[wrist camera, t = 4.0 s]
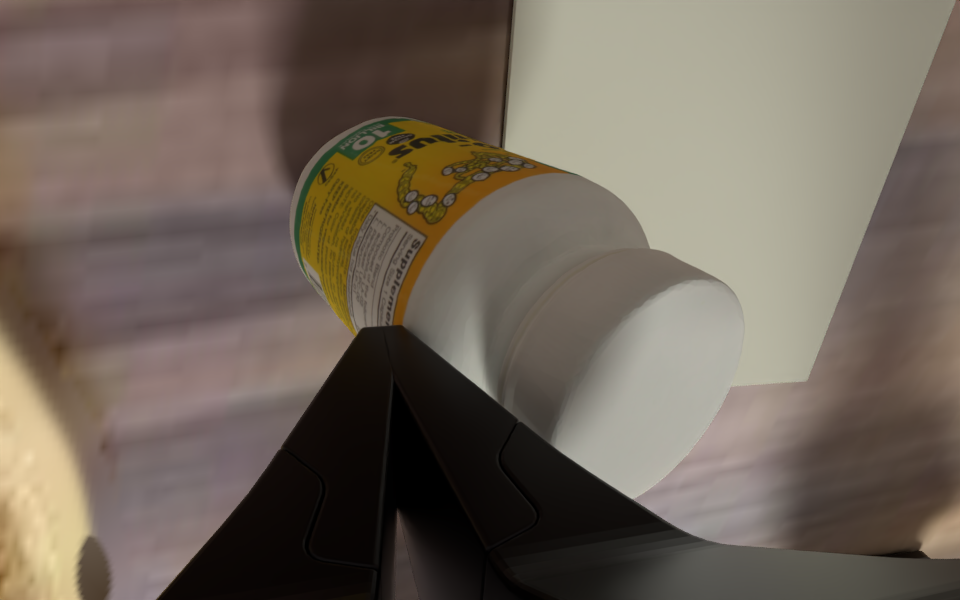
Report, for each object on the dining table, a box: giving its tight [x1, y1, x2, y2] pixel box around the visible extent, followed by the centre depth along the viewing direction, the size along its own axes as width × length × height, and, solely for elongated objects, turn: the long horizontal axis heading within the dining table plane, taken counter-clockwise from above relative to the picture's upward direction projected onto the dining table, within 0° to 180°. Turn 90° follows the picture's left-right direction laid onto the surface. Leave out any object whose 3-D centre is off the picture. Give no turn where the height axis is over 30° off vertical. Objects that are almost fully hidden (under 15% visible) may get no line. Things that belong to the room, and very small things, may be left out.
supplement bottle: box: [289, 116, 745, 499], centre depth 12 cm, size 5×5×10 cm
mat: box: [502, 0, 956, 386], centre depth 18 cm, size 13×14×1 cm
